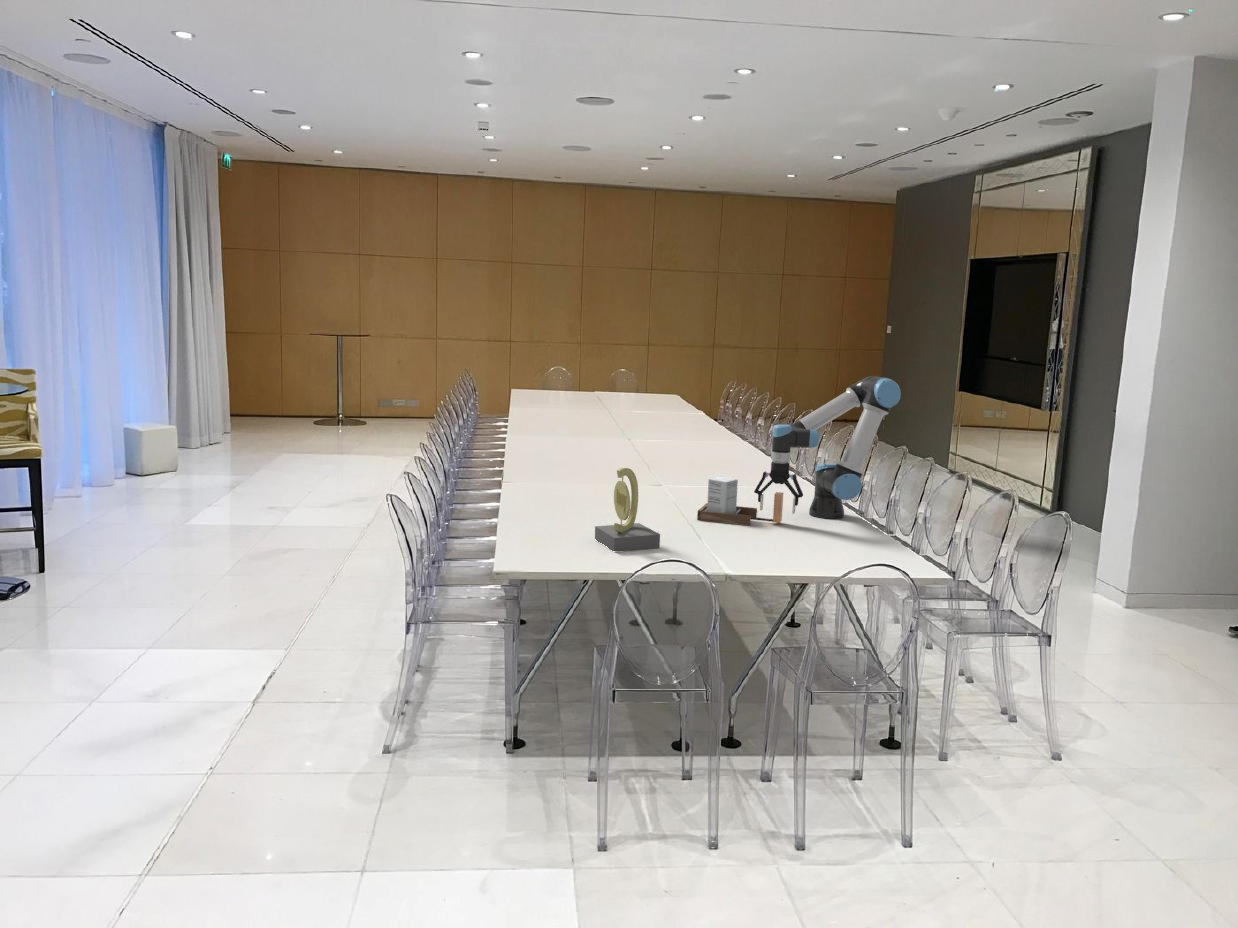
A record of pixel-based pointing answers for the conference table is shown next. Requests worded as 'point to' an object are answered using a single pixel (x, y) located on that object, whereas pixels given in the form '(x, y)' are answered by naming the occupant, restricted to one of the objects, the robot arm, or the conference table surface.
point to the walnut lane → (727, 516)
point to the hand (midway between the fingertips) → (777, 511)
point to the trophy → (630, 532)
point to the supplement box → (722, 495)
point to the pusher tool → (777, 509)
